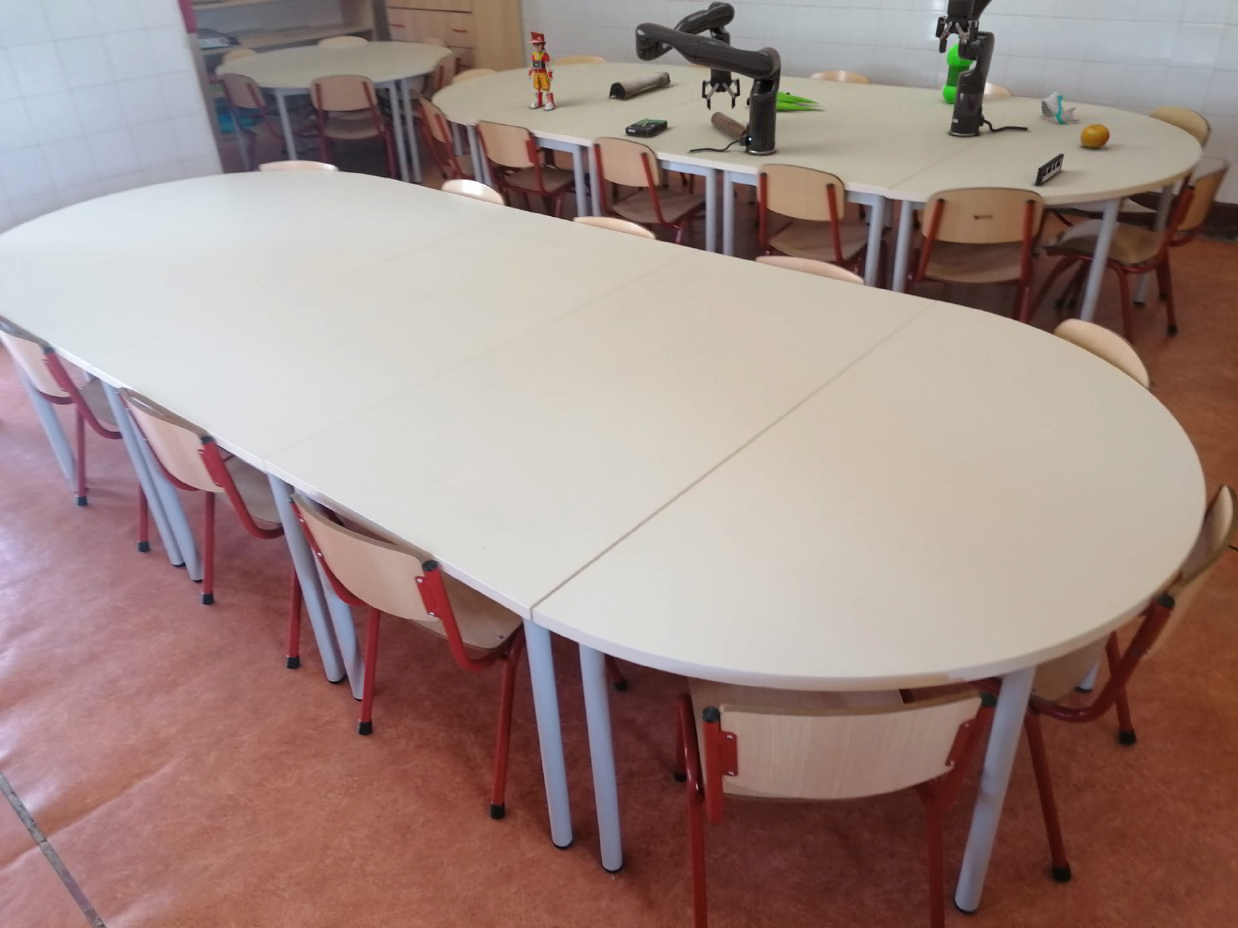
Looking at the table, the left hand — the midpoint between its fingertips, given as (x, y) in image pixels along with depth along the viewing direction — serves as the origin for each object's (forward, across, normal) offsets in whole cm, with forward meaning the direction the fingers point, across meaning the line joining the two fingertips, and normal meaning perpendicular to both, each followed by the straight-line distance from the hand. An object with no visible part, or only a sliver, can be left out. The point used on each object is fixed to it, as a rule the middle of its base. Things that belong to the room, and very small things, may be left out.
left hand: (721, 109), depth 338 cm
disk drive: (+6, +28, +3) cm, 29 cm away
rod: (+7, -4, +10) cm, 13 cm away
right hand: (-22, -74, +38) cm, 86 cm away
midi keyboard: (+9, -100, +68) cm, 122 cm away
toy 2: (+7, -26, -28) cm, 39 cm away
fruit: (+9, -123, +37) cm, 129 cm away
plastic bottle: (+8, -92, -29) cm, 96 cm away
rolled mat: (+6, +36, -63) cm, 73 cm away
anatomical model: (+9, -122, +1) cm, 122 cm away
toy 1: (+6, +76, -40) cm, 86 cm away
